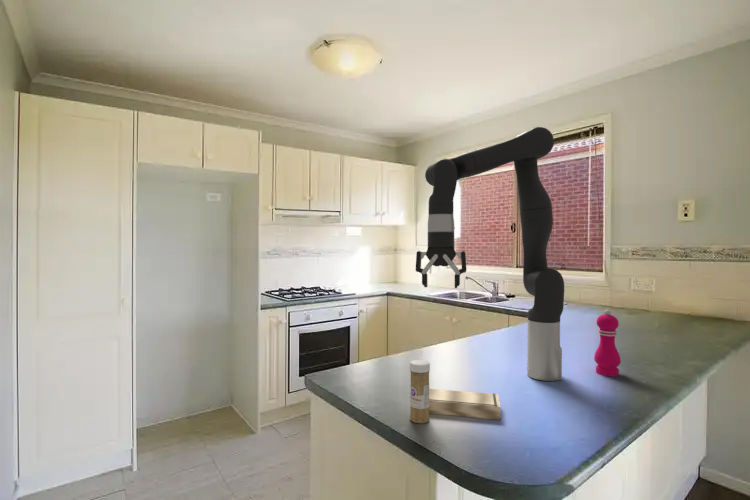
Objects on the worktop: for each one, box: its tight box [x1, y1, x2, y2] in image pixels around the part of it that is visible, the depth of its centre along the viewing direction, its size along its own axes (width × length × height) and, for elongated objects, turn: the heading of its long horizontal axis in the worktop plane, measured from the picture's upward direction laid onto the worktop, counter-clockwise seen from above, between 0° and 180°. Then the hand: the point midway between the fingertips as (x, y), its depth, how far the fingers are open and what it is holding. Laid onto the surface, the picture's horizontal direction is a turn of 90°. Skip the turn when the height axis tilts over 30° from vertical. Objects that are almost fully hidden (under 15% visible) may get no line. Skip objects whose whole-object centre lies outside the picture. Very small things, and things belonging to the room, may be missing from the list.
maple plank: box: [429, 388, 501, 421], centre depth 99 cm, size 20×8×3 cm, turn 77°
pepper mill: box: [593, 309, 622, 377], centre depth 126 cm, size 7×7×20 cm
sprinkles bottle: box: [409, 359, 431, 424], centre depth 93 cm, size 5×5×13 cm
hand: (440, 287), depth 115 cm, fingers open, 8 cm apart
